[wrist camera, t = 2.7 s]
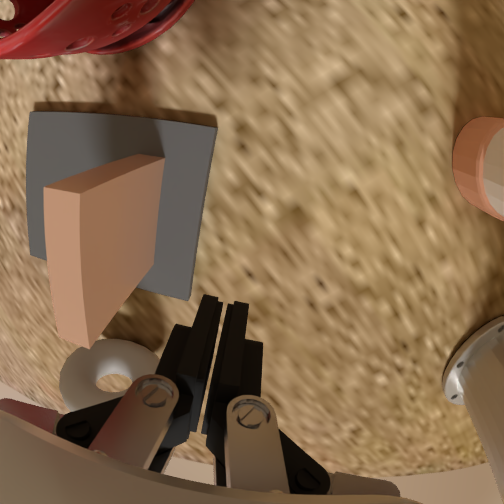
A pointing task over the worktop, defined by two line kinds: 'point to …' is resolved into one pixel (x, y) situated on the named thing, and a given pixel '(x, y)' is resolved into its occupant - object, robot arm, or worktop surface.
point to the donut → (102, 370)
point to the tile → (100, 241)
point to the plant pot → (85, 26)
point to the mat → (115, 148)
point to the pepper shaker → (481, 164)
